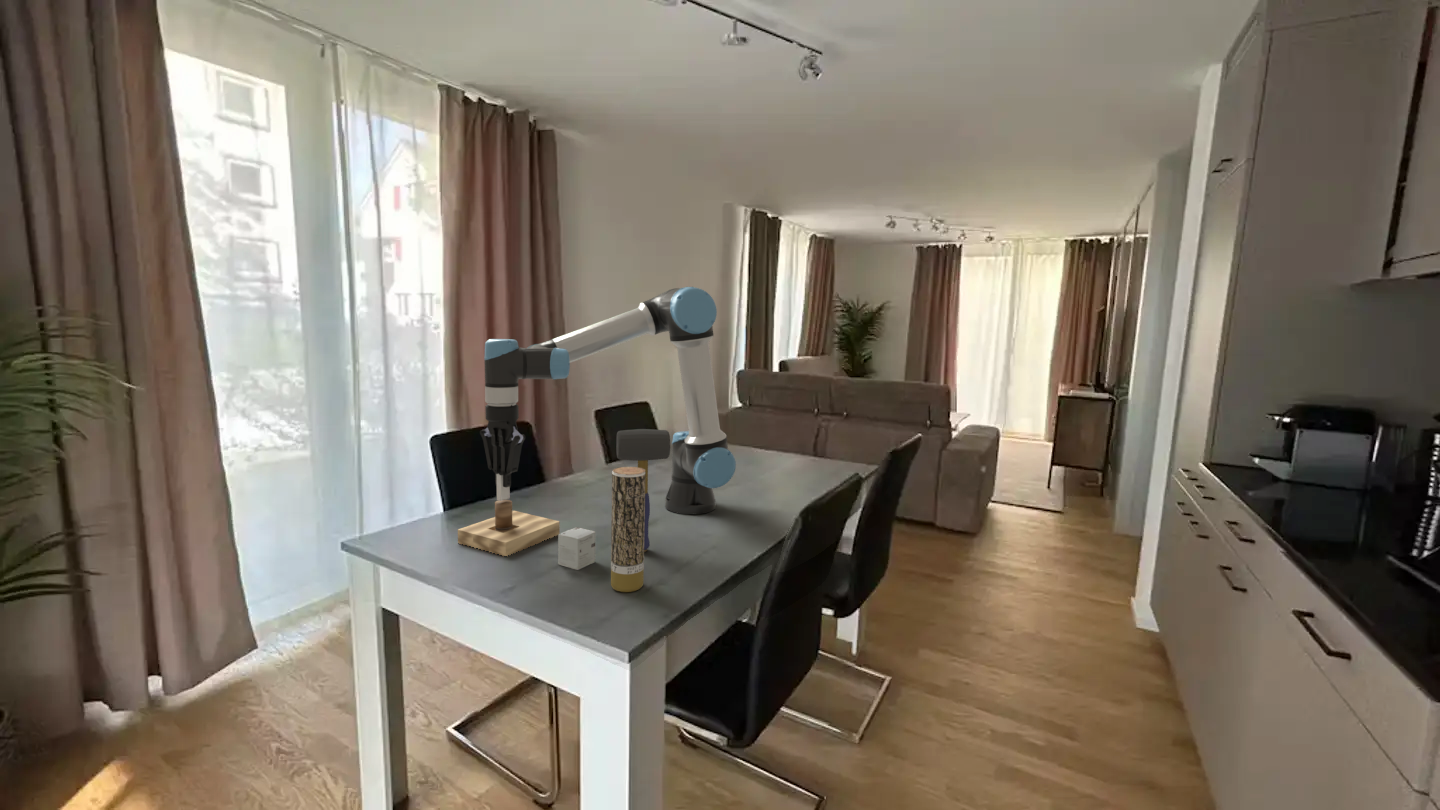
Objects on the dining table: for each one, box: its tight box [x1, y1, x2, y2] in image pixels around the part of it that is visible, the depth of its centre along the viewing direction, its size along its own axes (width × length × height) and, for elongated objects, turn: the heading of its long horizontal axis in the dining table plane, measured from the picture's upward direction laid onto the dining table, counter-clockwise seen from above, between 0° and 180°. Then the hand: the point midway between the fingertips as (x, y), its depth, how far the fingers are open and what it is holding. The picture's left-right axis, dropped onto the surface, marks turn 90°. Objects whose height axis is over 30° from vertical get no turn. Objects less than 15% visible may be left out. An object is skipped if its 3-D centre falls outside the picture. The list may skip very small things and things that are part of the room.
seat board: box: [457, 510, 561, 557], centre depth 156 cm, size 16×18×4 cm
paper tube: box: [610, 466, 646, 593], centre depth 129 cm, size 7×7×25 cm
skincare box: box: [557, 526, 596, 571], centre depth 142 cm, size 6×6×7 cm
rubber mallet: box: [615, 428, 671, 553], centre depth 149 cm, size 12×8×30 cm, turn 104°
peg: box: [494, 499, 513, 533], centre depth 153 cm, size 4×4×10 cm
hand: (503, 499), depth 153 cm, fingers closed
